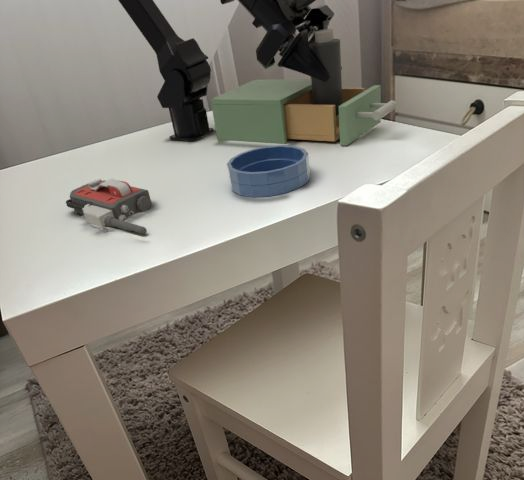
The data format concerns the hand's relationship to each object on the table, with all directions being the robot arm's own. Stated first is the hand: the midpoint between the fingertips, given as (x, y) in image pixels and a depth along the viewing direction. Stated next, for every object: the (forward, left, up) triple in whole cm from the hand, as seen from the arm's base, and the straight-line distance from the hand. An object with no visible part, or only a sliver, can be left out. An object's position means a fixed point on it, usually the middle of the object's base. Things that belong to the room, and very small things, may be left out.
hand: (334, 75), depth 84 cm
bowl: (+1, -22, -10) cm, 24 cm away
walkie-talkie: (-14, -38, -10) cm, 41 cm away
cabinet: (-13, 0, -10) cm, 16 cm away
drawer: (+1, 0, -9) cm, 9 cm away
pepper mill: (-1, 0, -6) cm, 6 cm away
